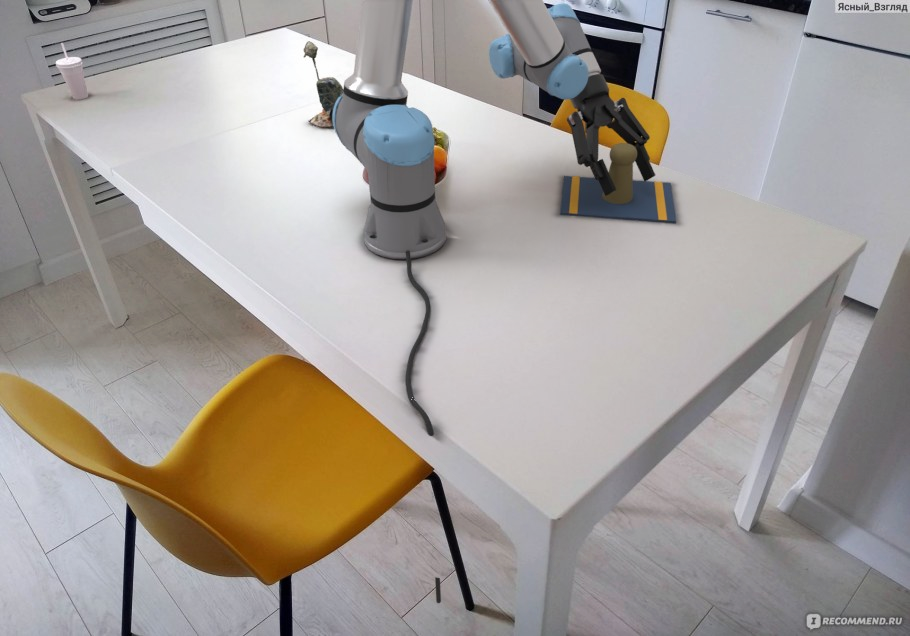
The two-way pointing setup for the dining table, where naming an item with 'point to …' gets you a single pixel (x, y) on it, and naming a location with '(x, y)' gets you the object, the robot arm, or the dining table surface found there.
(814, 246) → the dining table surface
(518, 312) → the dining table surface
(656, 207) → the towel
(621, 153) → the cork
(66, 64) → the smoothie
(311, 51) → the stone sculpture
